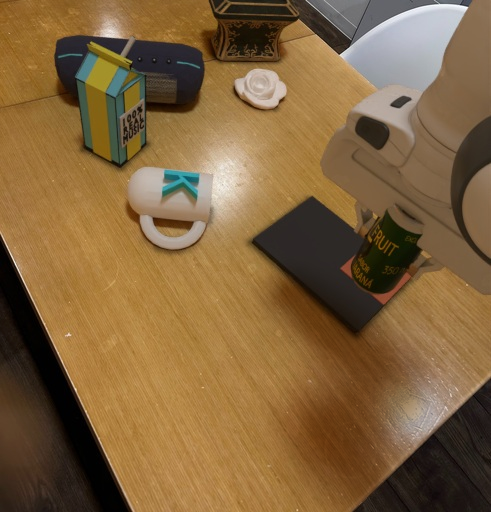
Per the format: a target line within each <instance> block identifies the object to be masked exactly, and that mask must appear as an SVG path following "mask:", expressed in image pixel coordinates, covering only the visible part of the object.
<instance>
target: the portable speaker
mask: <svg viewBox="0 0 491 512" xmlns="http://www.w3.org/2000/svg"><path fill="white" fill-rule="evenodd" d="M129 39H130V38H120V37H110V36H109V37H107V36H96V35H86V34H85V35H84V34H75V35H68V36H63V37H60V38H59V39H56V43H55V49H54V53H53V59H54V66H55V70H56V74H57V78H58V79H59V81H60V83H61V85H62V86H63V88H64V90H65V92H66V93H68V94H69V95H71V96H73V97H74V98H78V96H77V89H76V81H75V76H76V74H77V72H78V70H79V68H80V66H81V65H82V63H83V61H84V59H85V57H86V55H87V53H88V51H89V49H88V46H87V44H90V42H93V43H95V44H97V45H100V46H102V47H104V48H106V49H108V50H110V51H112V52H114V53H116V54H118V55H121V53H122V51H123V50H124V48H125V46H126V45H127V43H128V41H129ZM203 56H204V53H203V51H201V50H200V49H198V48H196V47H194V46H191V45H187V44H185V43H179V42H168V41H157V40H143V39H136V40H135V42H134V43H133V45H132V47H131V48H130V50H129V52H128V53H127V55H126V57H125V58H126V59H128V60H130V61H132V68H133V69H135V70H137V71H139V72H141V73H143V74H145V75H146V103H160V104H176V105H186V104H189V103H190V102H193V101H195V100H196V97H197V95H198V94H199V93H200V91H201V90H202V86H203V83H204V80H205V73H206V72H205V71H206V68H205V66H206V65H205V61H204V59H203V58H204V57H203Z"/></svg>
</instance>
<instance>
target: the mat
mask: <svg viewBox="0 0 491 512" xmlns="http://www.w3.org/2000/svg"><path fill="white" fill-rule="evenodd" d="M354 229H355V227H353V226H352V225H350V224H349V223H347V222H346V221H345V220H344V219H343V218H341V217H340V216H338V214H336V213H335V212H334V211H332V210H331V209H330V208H329V207H327V206H326V205H325V204H323V203H322V202H321V201H319V200H318V198H316V197H315V196H313V195H311V196H310V197H309V198H307V199H305V200H304V201H303V202H302V203H300V204H299V205H297V206H296V207H295V208H293V209H292V210H290V211H289V212H287V213H285V215H283V216H282V217H280V218H279V219H278V220H277V221H275V222H274V223H272V224H271V225H270V226H268V227H267V228H265V229H264V230H263V231H261V232H260V233H259V234H257V235H256V236H255V237H253V238H252V241H251V243H252V244H253V245H254V246H255V247H256V248H257V249H258V250H260V251H261V252H262V253H264V255H266V256H267V257H268V258H269V259H270V260H271V261H272V262H273V263H275V264H276V265H277V266H278V267H279V268H280V269H281V270H282V271H284V272H285V273H286V274H287V275H288V276H289V277H291V278H292V279H293V280H294V281H295V282H297V283H298V284H299V285H300V286H301V287H302V288H303V289H305V290H306V292H308V293H309V294H310V295H311V296H312V297H314V298H315V299H316V300H317V301H318V302H319V303H321V305H323V306H324V307H325V308H326V309H328V310H329V312H331V313H332V314H333V315H334V316H335V317H336V318H338V319H339V321H341V322H342V323H343V324H344V325H345V326H346V327H348V328H349V329H350V330H351V331H353V332H354V333H355V334H358V333H359V332H360V331H361V330H363V328H364V327H365V326H366V325H367V324H368V323H369V322H370V321H371V320H372V319H373V318H374V317H375V316H376V315H377V314H378V313H379V312H380V310H382V309H383V308H384V306H386V305H387V303H389V302H390V300H391V299H393V297H394V296H395V295H396V294H397V293H398V292H399V291H400V290H401V289H402V288H403V287H404V286H405V285H406V284H407V283H408V282H409V281H410V280H411V279H412V278H413V277H412V276H411V275H409V274H408V273H407V272H406V274H405V275H404V276H403V278H402V279H401V280H400V282H399V283H398V284H397V286H396V287H395V288H394V289H393V290H392V291H390V292H388V293H385V294H381V295H373V294H369V293H367V292H364V291H363V290H361V289H360V288H359V287H358V286H357V285H356V284H355V283H354V281H353V279H352V275H351V263H352V261H353V259H354V257H355V255H356V254H357V252H358V250H359V248H360V247H361V245H362V243H363V241H364V240H365V239H363V238H362V237H361V236H359V235H358V234H357V233H355V232H354Z"/></svg>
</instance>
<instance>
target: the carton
mask: <svg viewBox="0 0 491 512" xmlns="http://www.w3.org/2000/svg"><path fill="white" fill-rule="evenodd" d="M128 39H129V41H128V43H127V45H126V46H125V48H124V50H123V51H122V53H121V55H118V54H116V53H114V52H112V51H110V50H108V49H106V48H104V47H102V46H100V45H97V44H95V43H93V42H90V44H87V46H88V49H89V51H88V53H87V55H86V57H85V59H84V61H83V63H82V65H81V66H80V68H79V70H78V72H77V74H76V76H75V81H76V89H77V96H78V97H77V103H78V109H79V117H80V123H81V130H82V131H81V132H82V139H83V146H84V150H86V151H88V152H90V153H92V154H94V155H96V157H99V158H101V159H103V160H104V161H106V162H108V163H110V164H112V165H114V166H116V167H117V168H119V169H121V168H122V167H123V166H124V165H126V164H127V163H128V162H130V160H131V159H132V158H133V157H134V156H136V155H137V154H138V153H139V152H140V151H141V150H142V149H143V148H145V147H146V146H147V145H148V144H147V143H148V142H147V102H146V75H145V74H143V73H141V72H139V71H137V70H135V69H133V68H132V61H130V60H128V59H126V58H125V57H126V55H127V53H128V52H129V50H130V48H131V47H132V45H133V43H134V42H135V40H137V37H136V36H134V35H131V36H130V38H128Z"/></svg>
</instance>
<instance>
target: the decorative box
mask: <svg viewBox="0 0 491 512" xmlns="http://www.w3.org/2000/svg"><path fill="white" fill-rule="evenodd" d="M208 3H209V7H210V9H211V12H212V15H213V18H214V19H215V20H216V21H217V26H216V30H215V32H214V33H213V35H212V36H211V39H210V41H211V44H212V47H213V50H214V53H215V57H216V58H217V60H220V61H232V62H233V61H237V62H238V61H239V62H243V61H249V62H250V61H254V62H255V61H257V62H278V61H279V60H281V53H280V45H279V44H280V43H279V42H280V37H281V34H282V32H283V31H284V29H285V28H287V27H289V26H290V25H292V24H295V23H296V22H297V21H299V19H300V15H301V14H300V12H299V10H298V8H297V6H296V4H295V3H294V1H293V0H208Z"/></svg>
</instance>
